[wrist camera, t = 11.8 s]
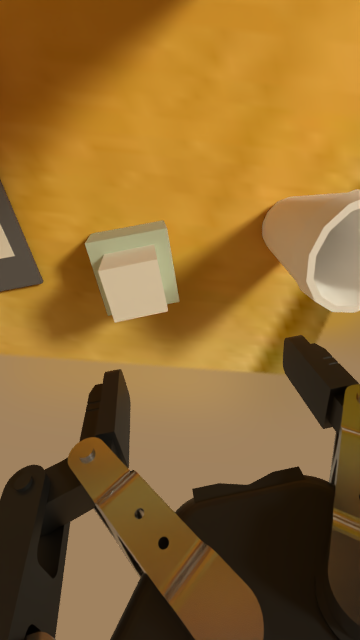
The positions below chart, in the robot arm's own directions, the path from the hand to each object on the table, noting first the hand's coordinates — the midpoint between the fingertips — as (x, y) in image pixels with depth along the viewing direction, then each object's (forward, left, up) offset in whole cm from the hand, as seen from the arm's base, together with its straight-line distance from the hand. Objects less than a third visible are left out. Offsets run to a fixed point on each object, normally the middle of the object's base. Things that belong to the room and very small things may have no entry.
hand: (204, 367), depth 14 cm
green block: (+1, -4, -22) cm, 22 cm away
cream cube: (+1, -4, -18) cm, 18 cm away
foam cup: (0, +14, -22) cm, 26 cm away
